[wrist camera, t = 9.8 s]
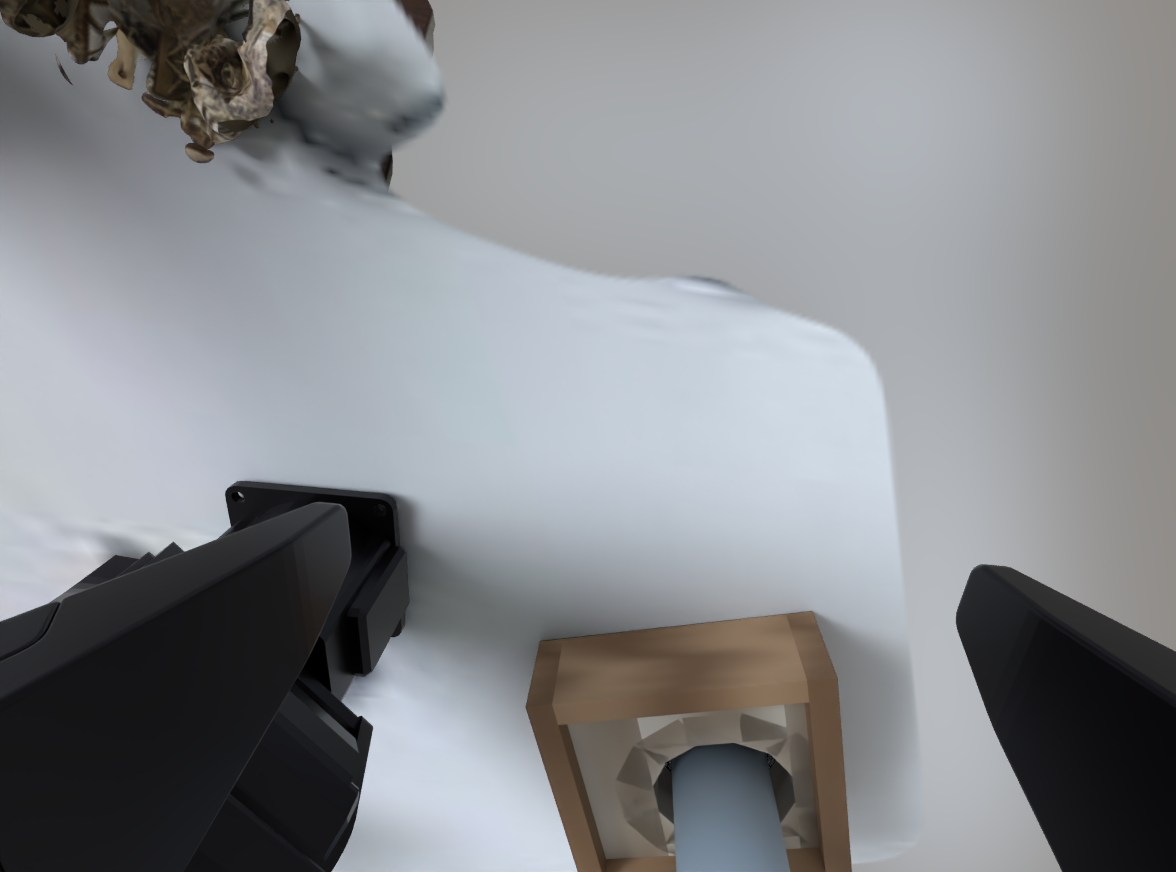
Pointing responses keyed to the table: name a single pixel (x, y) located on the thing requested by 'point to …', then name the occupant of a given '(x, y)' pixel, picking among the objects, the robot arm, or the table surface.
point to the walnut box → (689, 733)
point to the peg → (726, 811)
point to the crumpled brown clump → (193, 55)
